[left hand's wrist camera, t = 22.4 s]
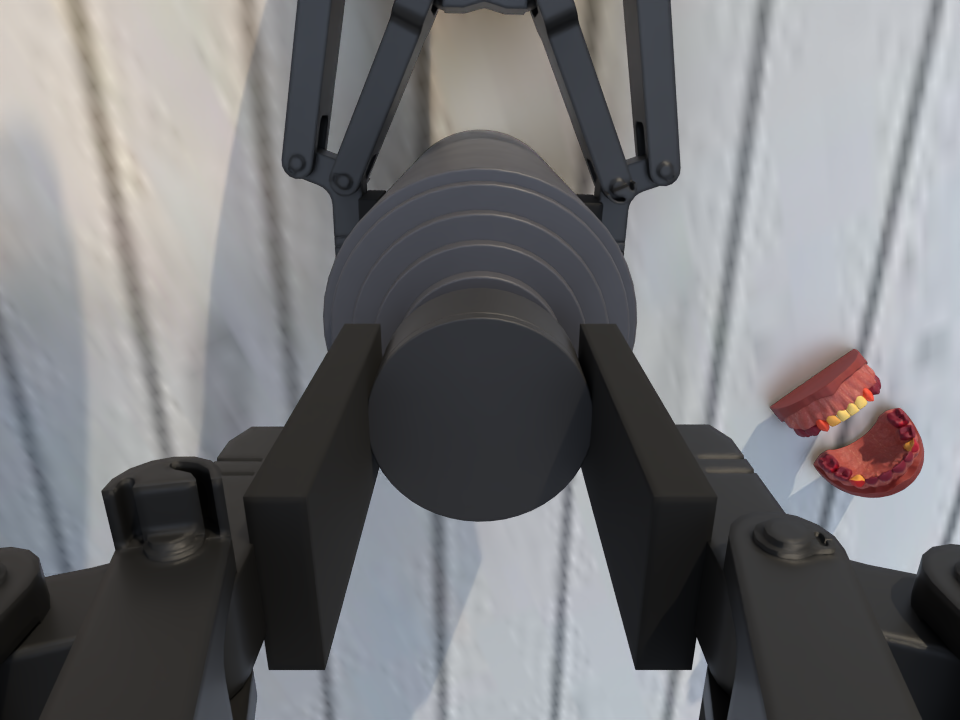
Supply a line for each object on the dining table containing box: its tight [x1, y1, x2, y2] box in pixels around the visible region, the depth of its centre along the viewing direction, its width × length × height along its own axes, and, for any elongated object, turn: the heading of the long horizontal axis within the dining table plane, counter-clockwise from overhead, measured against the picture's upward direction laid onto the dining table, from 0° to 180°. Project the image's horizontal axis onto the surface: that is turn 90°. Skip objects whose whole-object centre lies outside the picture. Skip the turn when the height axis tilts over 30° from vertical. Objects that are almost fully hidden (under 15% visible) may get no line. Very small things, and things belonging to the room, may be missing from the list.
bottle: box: [323, 130, 637, 358], centre depth 24 cm, size 8×8×23 cm
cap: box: [368, 288, 593, 522], centre depth 14 cm, size 4×4×2 cm
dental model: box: [770, 349, 924, 498], centre depth 37 cm, size 6×4×8 cm
